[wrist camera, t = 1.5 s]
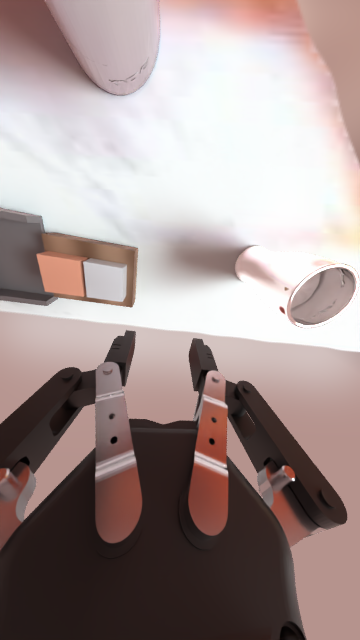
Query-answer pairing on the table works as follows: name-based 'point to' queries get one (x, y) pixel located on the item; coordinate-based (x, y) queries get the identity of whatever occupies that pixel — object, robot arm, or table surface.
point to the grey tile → (105, 279)
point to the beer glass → (299, 284)
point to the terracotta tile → (62, 273)
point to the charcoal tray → (22, 258)
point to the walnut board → (96, 251)
